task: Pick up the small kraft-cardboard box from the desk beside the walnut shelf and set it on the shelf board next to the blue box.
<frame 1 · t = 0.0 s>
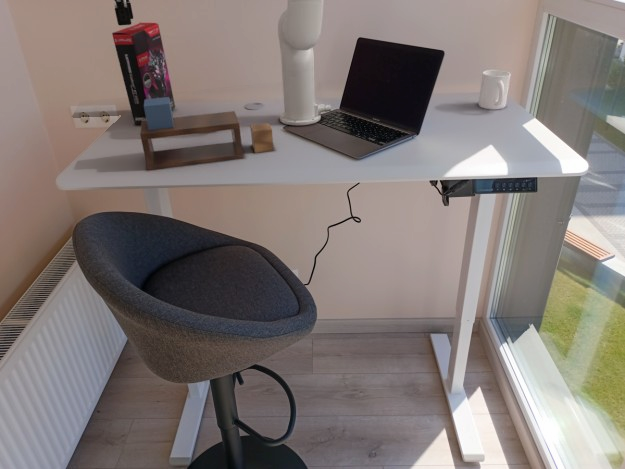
hand: (126, 21, 132), 31 cm above the table, tool pointing down, fingers open, 9 cm apart
blue box: (161, 125, 127), point 9 cm above the table, touching desk shelf
cardboard box: (262, 148, 137), on the table
mug: (493, 108, 160), on the table
desk shelf: (195, 156, 134), on the table
graphics card box: (155, 117, 163), on the table
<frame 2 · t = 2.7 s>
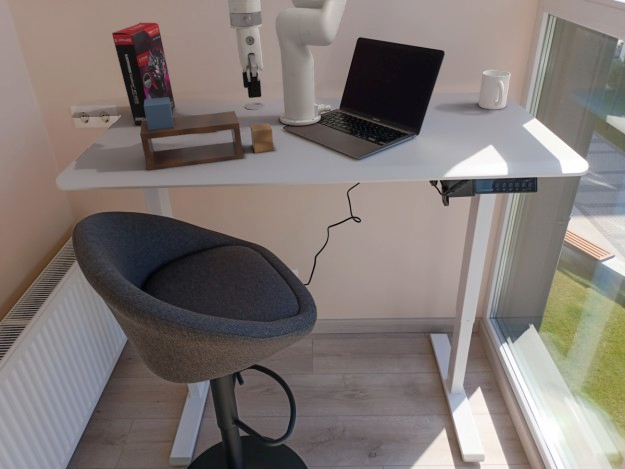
hand: (252, 92, 129), 15 cm above the table, tool pointing down, fingers open, 9 cm apart
nothing on the table moved.
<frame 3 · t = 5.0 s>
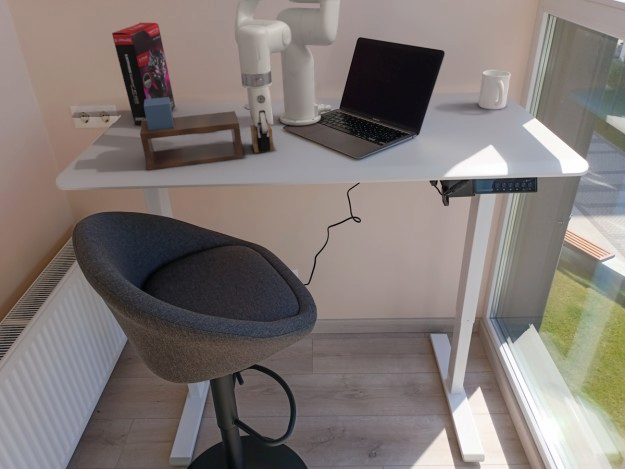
hand: (262, 146, 137), 1 cm above the table, tool pointing down, fingers closed on cardboard box, 5 cm apart
cardboard box: (262, 148, 137), on the table, touching gripper
everything else where it was.
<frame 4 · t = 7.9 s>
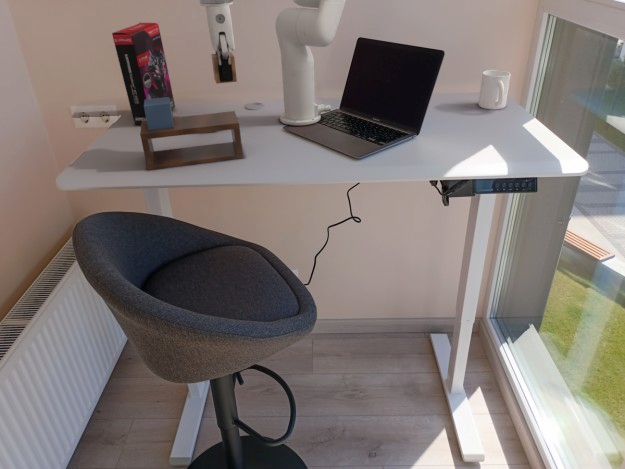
hand: (225, 77, 125), 20 cm above the table, tool pointing down, fingers closed on cardboard box, 5 cm apart
cardboard box: (225, 80, 125), point 19 cm above the table, touching gripper
everything else where it was.
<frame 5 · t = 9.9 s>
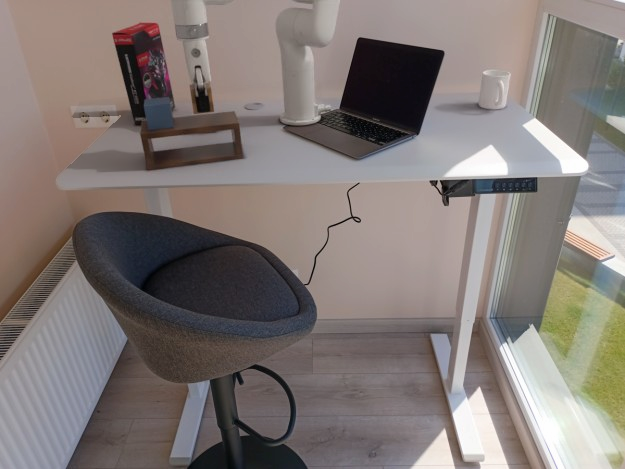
hand: (203, 107, 128), 13 cm above the table, tool pointing down, fingers closed on cardboard box, 5 cm apart
cardboard box: (203, 110, 128), point 12 cm above the table, touching gripper
everything else where it was.
when the fingers open (10 cm above the table, at t = 11.1 s): cardboard box stays where it is, resting on desk shelf.
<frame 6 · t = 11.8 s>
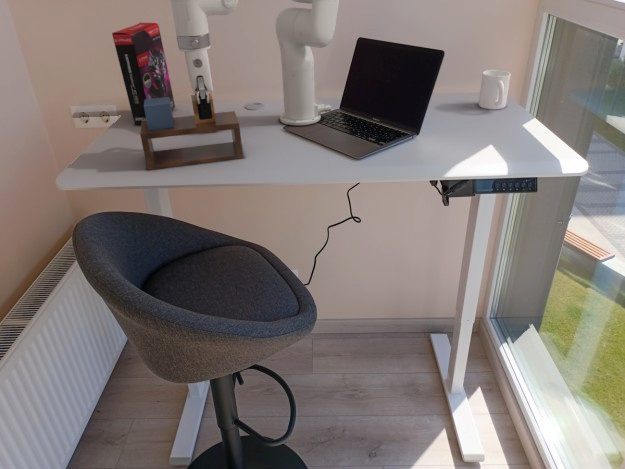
hand: (204, 112, 128), 11 cm above the table, tool pointing down, fingers open, 9 cm apart
cardboard box: (205, 120, 129), point 9 cm above the table, touching desk shelf
everything else where it was.
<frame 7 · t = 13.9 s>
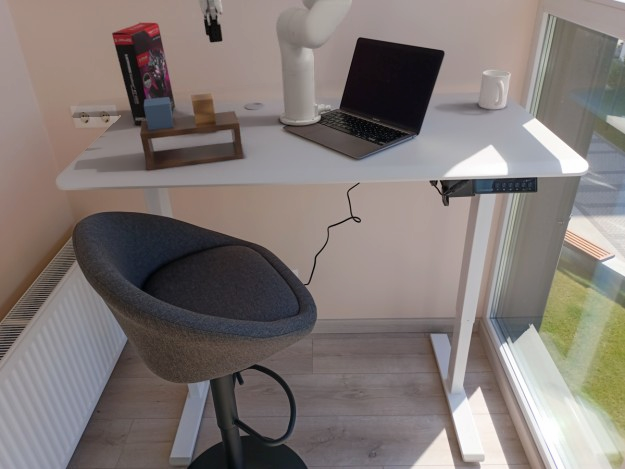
hand: (214, 38, 131), 27 cm above the table, tool pointing down, fingers open, 9 cm apart
nothing on the table moved.
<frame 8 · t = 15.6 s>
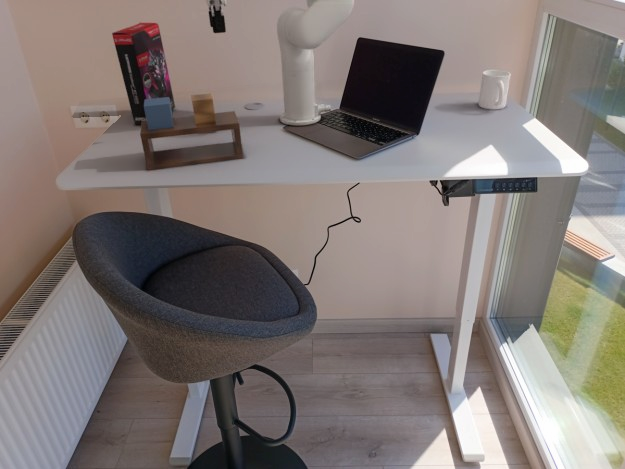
hand: (218, 29, 134), 28 cm above the table, tool pointing down, fingers open, 9 cm apart
nothing on the table moved.
at the end: cardboard box inside the target area on the desk shelf (0.4 cm from its centre), point 9.5 cm above the desk shelf's base; cardboard box tilted 0°; cardboard box 10.9 cm from the blue box (horizontally) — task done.
